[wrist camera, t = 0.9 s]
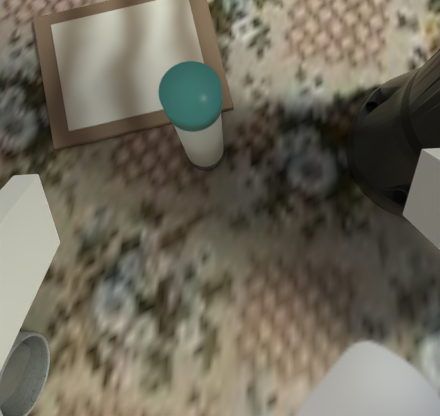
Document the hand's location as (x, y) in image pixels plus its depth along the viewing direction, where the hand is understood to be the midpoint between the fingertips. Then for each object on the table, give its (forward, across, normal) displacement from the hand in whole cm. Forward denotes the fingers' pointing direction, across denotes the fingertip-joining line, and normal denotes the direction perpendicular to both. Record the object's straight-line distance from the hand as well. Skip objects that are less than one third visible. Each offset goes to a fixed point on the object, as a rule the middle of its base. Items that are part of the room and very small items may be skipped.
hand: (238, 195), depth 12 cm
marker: (+25, 0, -8) cm, 26 cm away
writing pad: (+33, -7, 0) cm, 33 cm away
